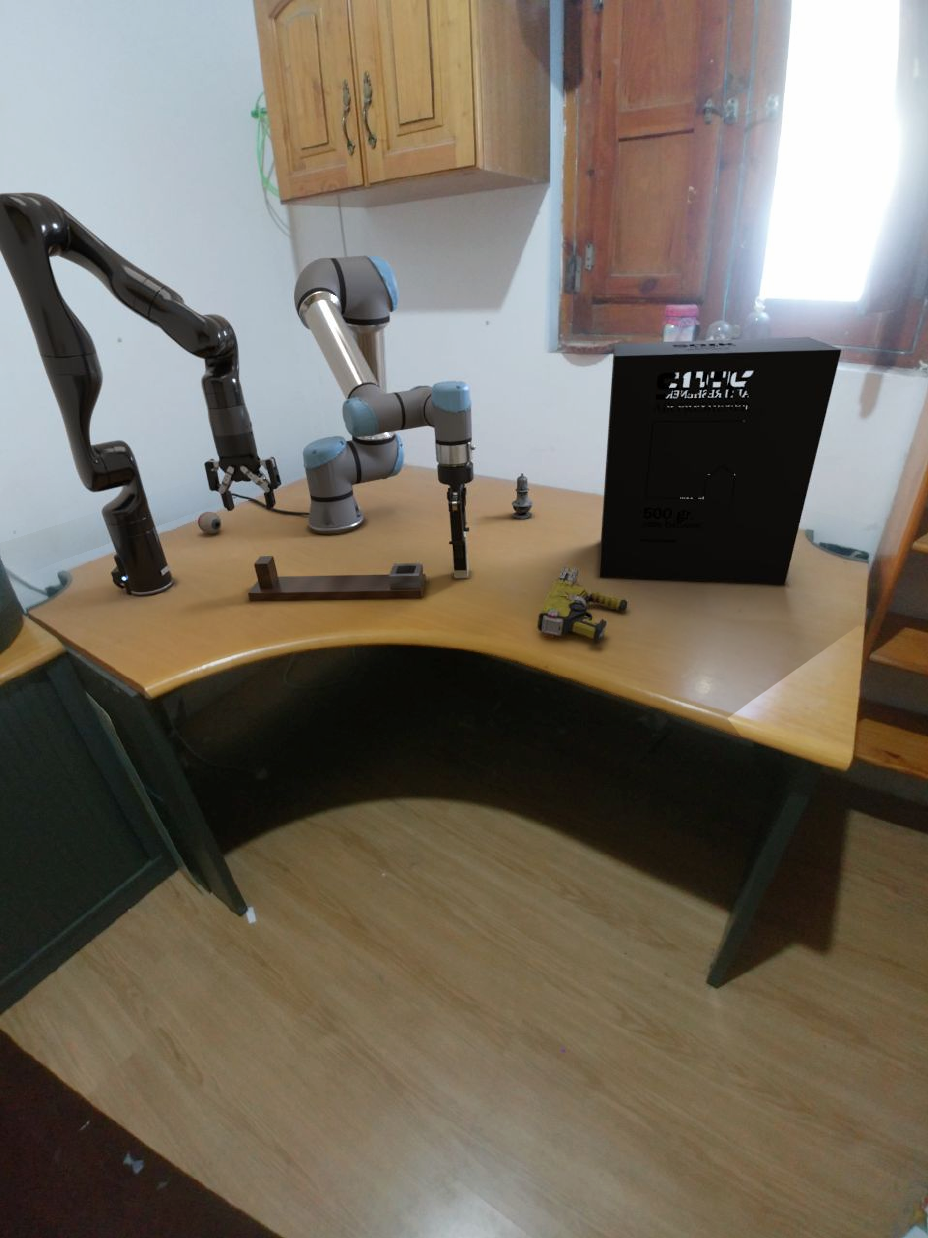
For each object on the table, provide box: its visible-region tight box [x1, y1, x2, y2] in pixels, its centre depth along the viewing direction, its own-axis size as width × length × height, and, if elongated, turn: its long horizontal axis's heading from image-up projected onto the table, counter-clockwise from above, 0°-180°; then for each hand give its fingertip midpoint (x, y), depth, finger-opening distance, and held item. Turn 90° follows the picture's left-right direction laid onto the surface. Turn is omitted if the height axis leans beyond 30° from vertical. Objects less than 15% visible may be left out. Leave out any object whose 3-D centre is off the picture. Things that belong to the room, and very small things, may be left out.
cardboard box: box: [599, 336, 842, 586], centre depth 126 cm, size 38×20×45 cm, turn 78°
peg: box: [453, 532, 470, 579], centre depth 135 cm, size 3×3×10 cm
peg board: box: [247, 555, 427, 602], centre depth 132 cm, size 38×8×8 cm, turn 86°
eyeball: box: [197, 511, 222, 534], centre depth 167 cm, size 6×6×6 cm
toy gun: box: [536, 566, 629, 645], centre depth 118 cm, size 5×24×15 cm
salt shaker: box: [511, 472, 534, 520], centre depth 165 cm, size 6×6×12 cm
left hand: (251, 509), depth 125 cm, fingers open, 8 cm apart
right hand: (461, 564), depth 136 cm, fingers open, 4 cm apart
